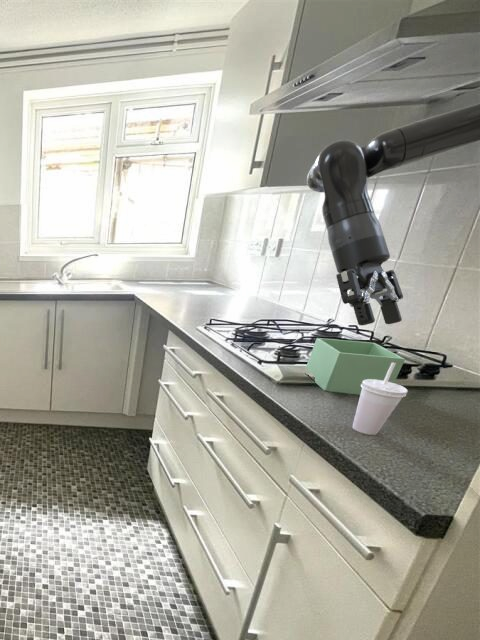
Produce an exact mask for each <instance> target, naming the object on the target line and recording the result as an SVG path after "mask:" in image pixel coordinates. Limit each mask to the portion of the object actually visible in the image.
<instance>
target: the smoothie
mask: <svg viewBox="0 0 480 640" xmlns="http://www.w3.org/2000/svg"><path fill="white" fill-rule="evenodd" d="M395 364H396V363H391V365H390V368H389V370H388V372H387V374H386V377H385V379H384V381H382V380H375V379H366V380H363V382H362V384H361V387H362V390H361V394H360V395H359V399H358V402H357V405H356V406H357V407H356V411H355V414H354V419H353V423H352V427H351V428H352V429H353V430H354V431H356V432H358V433H360V434H364V435H370V436H376V435H378V433H379V431H381V429H382V427H384V424H385V423H386V422H387V420H388V419H389V417H390V416H391V415H392V413H393V412H394V410H395V409H396V407H397V406H398V405H399V403H400V401H401V400H402V398H405V397H406V396H407V394H408V392H409V391H408V389H407V388H406V387H405V386H403V385H400V384H398V383H395V382H394V383H391V382H388V380H389V377H390V375H391V373H392V371H393V369H394V366H395Z"/></svg>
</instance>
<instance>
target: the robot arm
mask: <svg viewBox="0 0 480 640" xmlns="http://www.w3.org/2000/svg"><path fill="white" fill-rule="evenodd" d="M479 142H480V102H479V103H475V104H472V105H469V106H465V107H462V108H457V109H454V110H450V111H447V112H443V113H440V114H437V115H433V116H429V117H426V118H423V119H420V120H417V121H414V122H413V121H412V122H411V123H407V124H405V125H402V126H399V127H395V128H393V129H389V130H387V131H384V132H381V133H379V134H378V135H376V136H375V137H373V138H372V139H371V140H370V141H368V142H367V143H366V144H365V145H363V146H360V145H359V143H358V142H355V141H354V140H350V139H339V140H336V141H332V142H331V143H330V144H328V145H327V146H325V147H324V148H323V149H322V150H321V151H320V153H319V154H318V155H317V157H316V159H315V161H314V162H313V164H312V165H311V167H310V169H309V171H308V173H307V176H306V184H307V186H308V188H309V189H310V190H312V191H313V192H316V193H322V194H323V193H324V199H323V203H322V206H321V213H322V218H323V221H324V225H325V227H326V231H327V239H328V244H329V248H330V251H331V254H332V258H333V261H334V265H335V269H336V271H337V274H336V276H335V277H336V281H337V285H338V289H339V292H340V297H341V301H342V303H343V304H344V305H347V304H349V306H350V307H351V308H352V309H353V311H354V314H355V318H356V321H357V324H358V326H367V325H371V324H373V323H375V321H376V319H375V316H374V312H373V308H372V306H371V303H370V299H372V300H375V301H376V302H377V303H378V305H379V306H380V310H381V314H382V317H383V321H384V323H385V324H386V325H392V324H396V323H397V324H398V323H400V322H402V320H403V317H402V315H401V312H400V308H399V305H398V302H399V300H402V299H403V298H404V294H403V292H402V288H401V286H400V283H399V280H398V277H397V275H396V271H395V270H394V269H389V270H386V271H384V268H383V267H382V265H383V263H385V262H387V261H388V260H389V259H390V258H391V254H390V251H389V248H388V245H387V241H386V239H385V235H384V232H383V228H382V225H381V223H380V221H379V219H378V217H377V215H376V213H375V210H374V206H373V203H372V201H371V198H370V195H369V192H368V182H369V181H368V179H369V178H371V177H374V176H376V175H379V174H380V173H382V172H385V171H389V170H393V169H396V168H400V167H404V166H406V165H410V164H413V163H416V162H419V161H423V160H426V159H429V158H432V157H435V156H439V155H441V154H444V153H447V152H450V151H454V150H457V149H460V148H463V147H466V146H470V145H472V144H475V143H479Z"/></svg>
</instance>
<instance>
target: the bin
mask: <svg viewBox="0 0 480 640" xmlns="http://www.w3.org/2000/svg"><path fill="white" fill-rule="evenodd" d="M405 360H406V358H405V357H403V356H400V355H399V354H396V353H395V352H393V351H391V350H389V349H387V348H385V347H383V346H381V345H379V344H378V343H376V342H368V341H358V340H347V339H346V340H345V339H334V338H322V337H316V339H315V341H314V344H313V347H312V349H311V352H310V355H309V358H308V361H307V364H306V366H305V369H307V370H308V371H309V372H310V373H312V374H313V376H314V377H315V382H314V383H315V384H316V385H317V386H319V387H320V388H321V390H323V391H324V392H331V393H340V394H347V395H348V394H349V395H359V396H360V394H361V390H362V387H361V384H362V382H363V380H366V379H375V380H382V381H384V379H385V377H386V374H387V372H388V370H389V368H390V365H391V363H396V364H395V366H394V369H393V371H392V373H391V375H390V377H389V380H388V382H391V383H395V382H396V380H397V378H398V376H399V373H400V371H401V369H402V367H403V365H404V362H405Z"/></svg>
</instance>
